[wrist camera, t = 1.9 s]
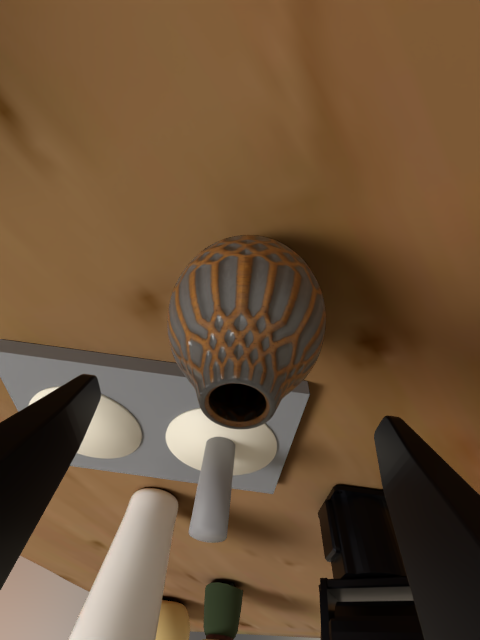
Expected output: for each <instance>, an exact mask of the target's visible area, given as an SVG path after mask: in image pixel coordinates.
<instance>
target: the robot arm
mask: <svg viewBox="0 0 480 640" xmlns="http://www.w3.org/2000/svg"><path fill="white" fill-rule="evenodd" d="M100 399H101V390H100V386H99V382H98V378H97V377H96V376H95V375H90V374H81V375H79V376H77V377H76V378H74V379H72V380H71V381H69V382H67V383H66V384H64V385H62V386H61V387H59V388H57V389H56V390H54V391H52V392H51V393H49V394H47V395H46V396H44V397H42V398H41V399H39V400H37V401H36V402H34V403H32V404H31V405H29V406H27V407H26V408H24V409H22V410H21V411H19V412H17V413H16V414H14V415H12V416H11V417H9V418H7V419H6V420H4V421H2V422H1V423H0V590H1V588H2V586H3V585H4V583H5V581H6V579H7V577H8V576H9V574H10V572H11V570H12V568H13V567H14V565H15V563H16V561H17V559H18V558H19V556H20V554H21V552H22V550H23V549H24V547H25V545H26V543H27V542H28V540H29V538H30V536H31V534H32V533H33V531H34V529H35V527H36V525H37V524H38V522H39V520H40V518H41V516H42V515H43V513H44V511H45V509H46V507H47V506H48V504H49V502H50V500H51V498H52V497H53V495H54V493H55V491H56V489H57V488H58V486H59V484H60V482H61V480H62V479H63V477H64V475H65V473H66V471H67V470H68V468H69V466H70V464H71V462H72V461H73V459H74V457H75V455H76V453H77V452H78V450H79V448H80V446H81V443H82V441H83V439H84V437H85V434H86V432H87V430H88V427H89V425H90V423H91V420H92V418H93V416H94V413H95V411H96V409H97V406H98V404H99V402H100ZM374 439H375V445H376V451H377V457H378V463H379V469H380V475H381V481H382V486H383V490H384V492H383V491H376V490H369V489H362V488H355V487H347V486H340V485H337V486H334V487H333V489H332V490H331V492H330V494H329V495H328V497H327V499H326V500H325V502H324V503H323V505H322V507H321V508H320V510H319V512H318V517H319V519H320V526H321V533H322V540H323V547H324V554H325V559H326V560H327V562H331V565H332V571H333V578H334V579H327V578H320V585H319V592H320V613H321V640H480V495H479V494H478V493H477V492H476V491H475V490H474V489H473V488H472V487H471V486H470V485H469V484H468V483H467V482H466V481H465V480H464V479H463V478H462V477H461V476H459V475H458V474H457V473H456V472H455V471H454V470H453V469H452V468H451V467H450V466H449V465H448V464H447V463H446V462H445V461H444V460H443V459H442V458H441V457H440V456H439V455H438V454H437V453H436V452H435V451H434V450H433V449H432V448H431V447H430V446H429V445H428V444H427V443H426V442H425V441H424V440H423V439H422V438H421V437H420V436H419V435H418V434H417V433H416V432H415V431H414V430H412V429H411V428H410V427H409V426H408V425H407V424H406V423H405V422H404V421H403V420H402V419H401V418H399V417H394V416H385V417H384V418H383V419H382V421H381V422H380V424H379V426H378V427H377V429H376V431H375V434H374Z"/></svg>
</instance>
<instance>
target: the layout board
mask: <svg viewBox="0 0 480 640" xmlns="http://www.w3.org/2000/svg"><path fill="white" fill-rule="evenodd" d="M81 374H90V375H95V376H96V377H97V378H98V382H99V386H100V390H101V399H100V402H99V404H98V406H97V409H96V411H95V413H94V416H93V418H92V420H91V423H90V425H89V427H88V430H87V432H86V434H85V437H84V439H83V441H82V443H81V446H80V448H79V450H78V452H77V453H76V455H75V457H74V459H73V461H72V462H71V464H70V466H75V467H82V468H90V469H97V470H104V471H111V472H118V473H126V474H133V475H140V476H147V477H154V478H162V479H169V480H176V481H183V482H191V483H198V487H197V492H196V497H195V502H194V507H193V512H192V518H191V523H190V528H189V534H190V536H191V537H193V538H195V539H197V540H200V541H204V542H212V543H214V542H221V541H224V540H225V539H226V538H227V529H228V519H229V509H230V499H231V488H234V489H241V490H248V491H255V492H263V493H270V494H273V493H274V490H275V487H276V485H277V482H278V479H279V477H280V474H281V471H282V468H283V466H284V463H285V460H286V457H287V455H288V452H289V449H290V447H291V444H292V441H293V438H294V436H295V433H296V430H297V428H298V425H299V422H300V419H301V417H302V414H303V411H304V409H305V406H306V403H307V400H308V398H309V395H310V393H309V387H308V381H302V382H301V383H300V384H299V385H298V386H297V387H296V388H294V389H293V390H292V391H291V392H290V393H289V394H288V395H286V396H285V397H284V398H283V399H282V400H281V402H280V404H279V406H278V408H277V410H276V412H275V413H274V415H273V416H272V418H271V419H270V420H269V421H268V422H266V423H265V424H263V425H261V426H258V427H255V428H251V429H231V428H226V427H223V426H220V425H218V424H216V423H214V422H213V421H211V420H210V419H208V418H207V417H206V416H205V415H204V413H203V412H202V410H201V408H200V406H199V403H198V399H197V395H196V391H195V389H194V387H193V386H192V385H191V383H190V382H189V381H188V379H187V378H186V376H185V375H184V374H183V372H182V371H181V369H180V368H179V366H178V364H177V363H171V362H163V361H156V360H149V359H141V358H134V357H127V356H119V355H112V354H105V353H98V352H90V351H83V350H76V349H68V348H61V347H54V346H46V345H39V344H32V343H24V342H17V341H10V340H2V339H0V377H1V379H2V381H3V383H4V385H5V387H6V389H7V391H8V393H9V395H10V396H11V398H12V400H13V402H14V404H15V406H16V408H17V410H18V412H19V411H21V410H22V409H24V408H26V407H27V406H29V405H31V404H32V403H34V402H36V401H37V400H39V399H41V398H42V397H44V396H46V395H47V394H49V393H51V392H52V391H54V390H56V389H57V388H59V387H61V386H62V385H64V384H66V383H67V382H69V381H71V380H72V379H74V378H76V377H77V376H79V375H81Z"/></svg>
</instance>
